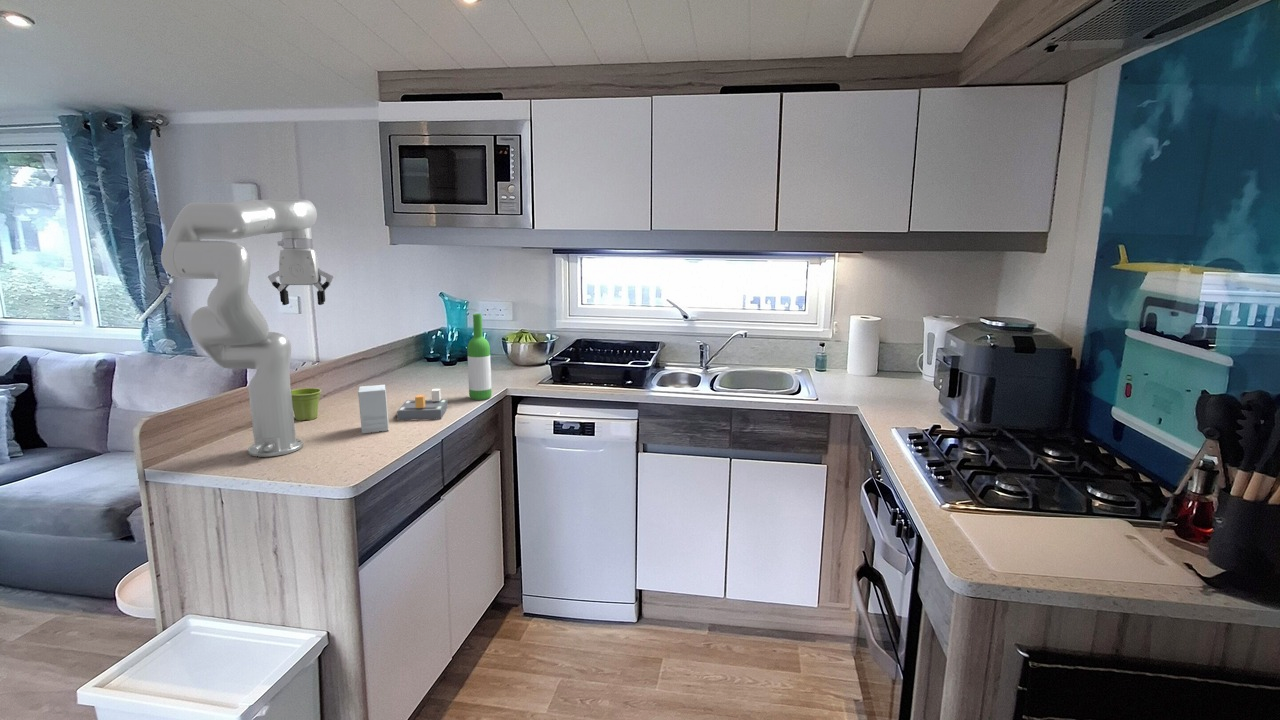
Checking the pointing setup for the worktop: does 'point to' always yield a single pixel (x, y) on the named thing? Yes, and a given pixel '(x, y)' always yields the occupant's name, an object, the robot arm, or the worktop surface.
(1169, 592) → the worktop surface
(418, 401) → the block
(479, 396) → the wine bottle
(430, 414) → the slider switch panel
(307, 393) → the plant pot
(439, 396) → the white slider switch
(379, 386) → the supplement box
